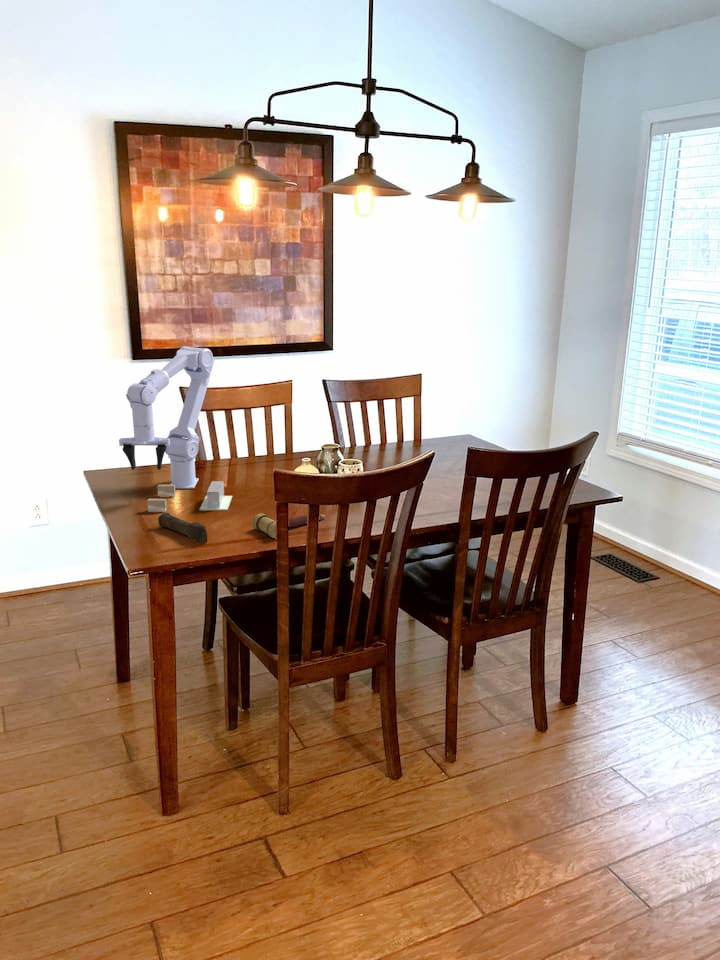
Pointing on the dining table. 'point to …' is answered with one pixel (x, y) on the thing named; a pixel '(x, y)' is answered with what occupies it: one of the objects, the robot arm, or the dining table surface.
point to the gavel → (269, 525)
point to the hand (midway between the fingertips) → (146, 468)
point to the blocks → (160, 504)
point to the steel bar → (215, 494)
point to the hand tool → (184, 527)
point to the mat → (223, 506)
